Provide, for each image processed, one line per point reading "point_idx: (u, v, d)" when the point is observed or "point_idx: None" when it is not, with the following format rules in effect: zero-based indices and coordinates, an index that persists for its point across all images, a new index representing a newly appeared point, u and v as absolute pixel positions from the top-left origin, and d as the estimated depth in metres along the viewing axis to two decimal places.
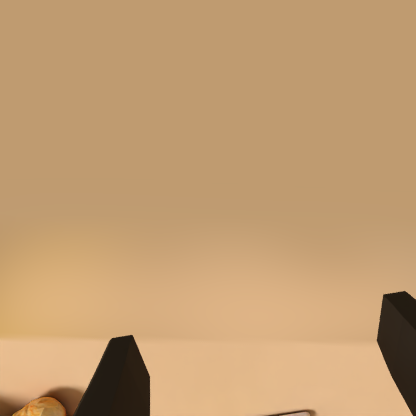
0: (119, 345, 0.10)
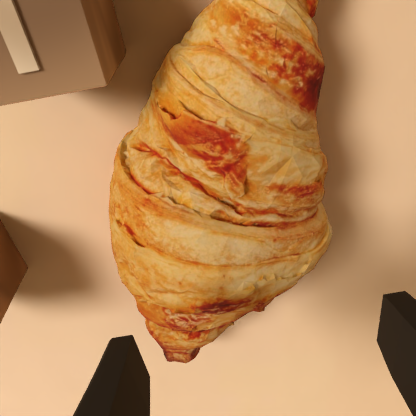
0: (119, 345, 0.10)
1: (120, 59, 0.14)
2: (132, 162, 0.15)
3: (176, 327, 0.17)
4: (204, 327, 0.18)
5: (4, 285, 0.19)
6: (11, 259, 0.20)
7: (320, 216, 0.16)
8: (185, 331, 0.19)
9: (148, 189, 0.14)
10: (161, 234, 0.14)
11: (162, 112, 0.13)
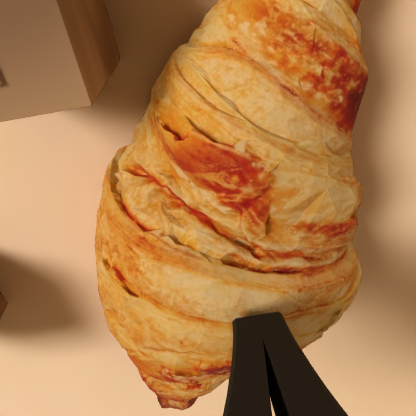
0: (248, 324, 0.10)
1: (112, 67, 0.11)
2: (124, 189, 0.12)
3: (174, 381, 0.15)
4: (207, 381, 0.15)
5: None
6: None
7: (349, 256, 0.13)
8: None
9: (144, 224, 0.11)
10: (159, 283, 0.11)
11: (164, 130, 0.10)
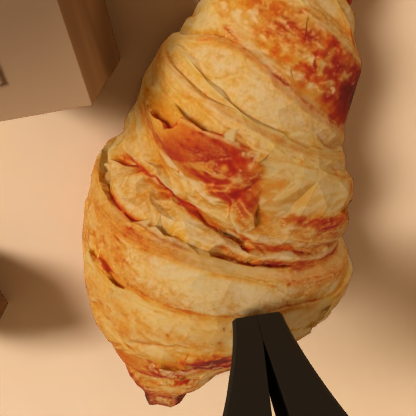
0: (248, 325, 0.10)
1: (112, 67, 0.11)
2: (113, 178, 0.12)
3: (160, 376, 0.14)
4: (194, 377, 0.15)
5: None
6: None
7: (340, 252, 0.13)
8: None
9: (132, 215, 0.11)
10: (146, 274, 0.11)
11: (153, 118, 0.10)
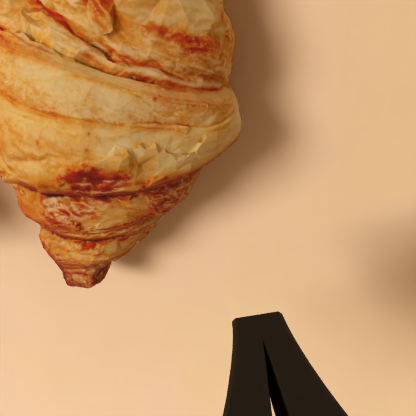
0: (248, 324, 0.10)
1: None
2: None
3: (57, 224, 0.15)
4: (91, 226, 0.15)
5: None
6: None
7: (223, 95, 0.14)
8: (78, 240, 0.17)
9: (4, 27, 0.12)
10: (12, 76, 0.11)
11: None
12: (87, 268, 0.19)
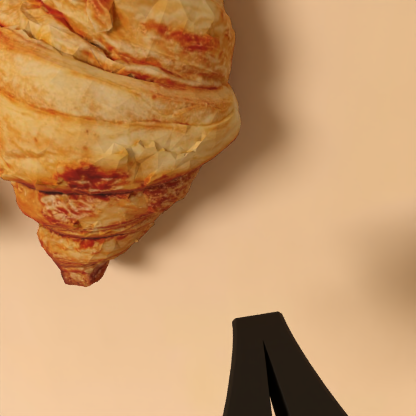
0: (248, 324, 0.10)
1: None
2: None
3: (55, 222, 0.15)
4: (89, 225, 0.15)
5: None
6: None
7: (222, 94, 0.14)
8: (76, 239, 0.17)
9: (4, 23, 0.12)
10: (11, 72, 0.11)
11: None
12: (85, 266, 0.18)
